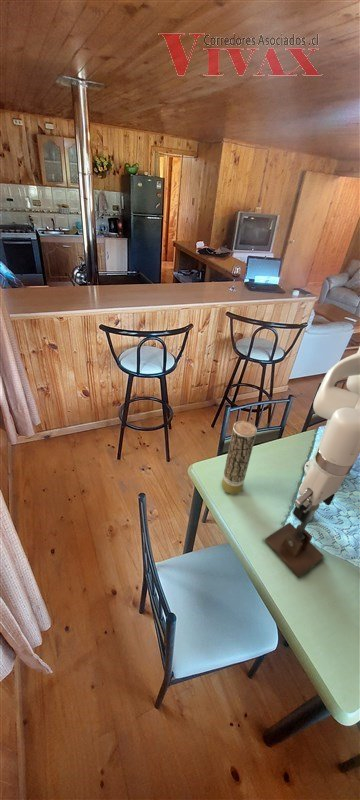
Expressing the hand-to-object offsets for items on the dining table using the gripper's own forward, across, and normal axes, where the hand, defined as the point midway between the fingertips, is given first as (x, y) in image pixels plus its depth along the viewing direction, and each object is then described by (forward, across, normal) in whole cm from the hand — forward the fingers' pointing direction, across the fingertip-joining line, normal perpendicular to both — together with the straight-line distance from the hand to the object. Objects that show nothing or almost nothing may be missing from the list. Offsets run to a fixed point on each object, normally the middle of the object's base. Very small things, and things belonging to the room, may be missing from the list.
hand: (311, 509), depth 82 cm
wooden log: (+18, 0, -26) cm, 31 cm away
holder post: (+5, 0, -2) cm, 5 cm away
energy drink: (+18, -12, -6) cm, 22 cm away
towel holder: (+18, 0, 0) cm, 18 cm away
